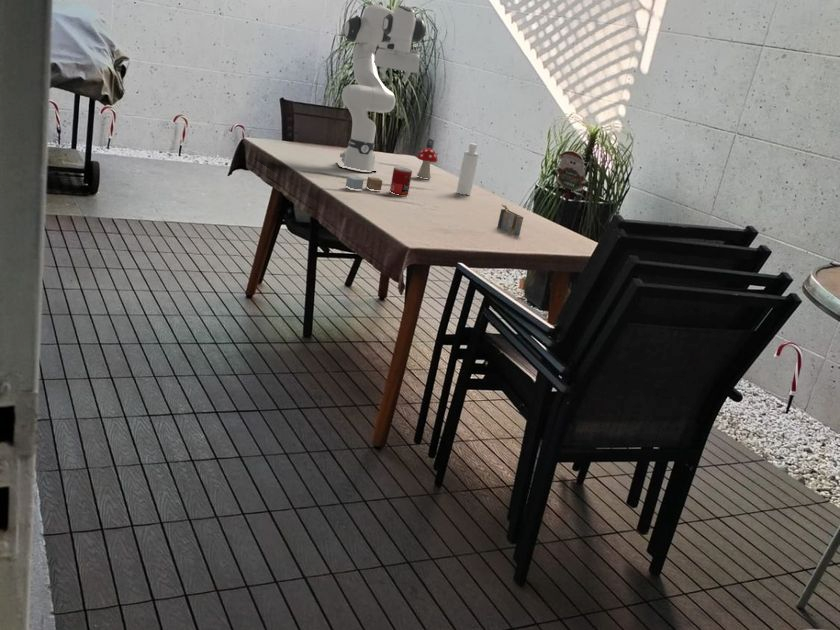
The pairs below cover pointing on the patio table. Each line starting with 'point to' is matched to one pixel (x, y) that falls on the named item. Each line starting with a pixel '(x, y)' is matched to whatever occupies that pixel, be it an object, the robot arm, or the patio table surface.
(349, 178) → the grey block
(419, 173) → the decorative mushroom
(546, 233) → the patio table surface
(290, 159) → the patio table surface
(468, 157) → the white bottle
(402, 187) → the canned food
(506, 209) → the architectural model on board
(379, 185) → the walnut block
